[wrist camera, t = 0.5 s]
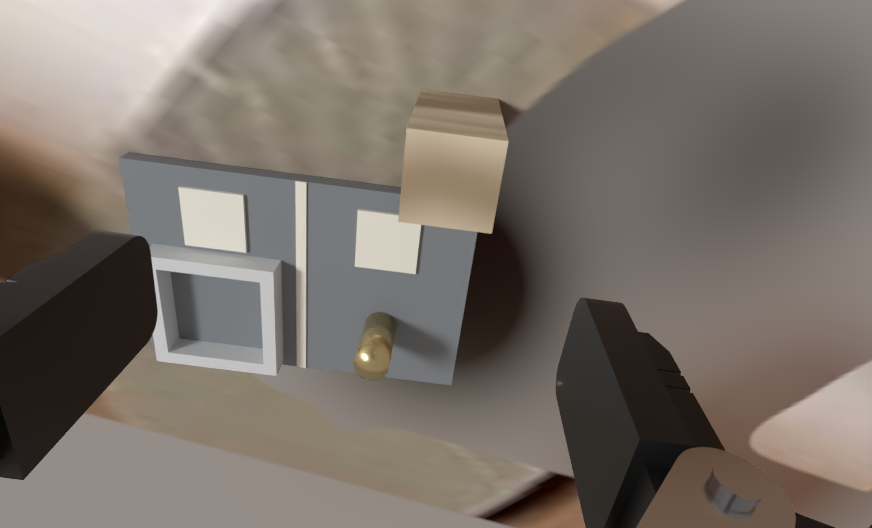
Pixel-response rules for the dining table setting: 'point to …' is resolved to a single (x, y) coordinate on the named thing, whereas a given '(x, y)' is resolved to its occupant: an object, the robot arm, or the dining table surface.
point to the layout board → (292, 269)
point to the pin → (375, 346)
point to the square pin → (453, 162)
